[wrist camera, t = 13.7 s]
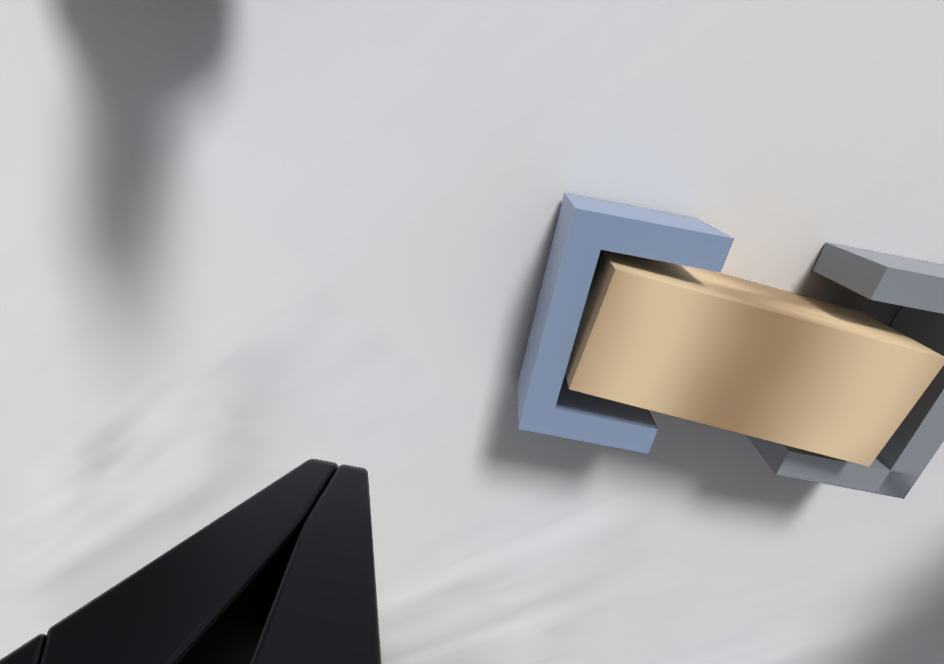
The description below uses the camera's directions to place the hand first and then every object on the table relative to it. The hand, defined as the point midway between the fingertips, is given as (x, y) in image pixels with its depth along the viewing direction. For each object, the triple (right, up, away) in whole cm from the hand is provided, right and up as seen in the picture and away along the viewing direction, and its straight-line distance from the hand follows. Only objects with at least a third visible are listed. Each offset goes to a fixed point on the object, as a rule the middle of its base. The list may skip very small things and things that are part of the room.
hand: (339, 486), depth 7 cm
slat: (+11, +3, +11) cm, 16 cm away
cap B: (+6, +3, +11) cm, 13 cm away
